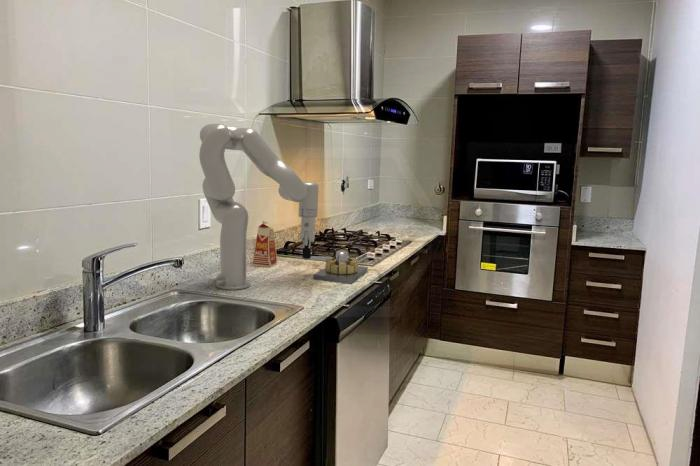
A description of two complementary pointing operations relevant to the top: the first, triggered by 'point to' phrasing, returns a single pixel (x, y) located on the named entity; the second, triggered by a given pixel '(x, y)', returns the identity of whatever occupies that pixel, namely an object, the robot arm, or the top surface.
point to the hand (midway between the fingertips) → (306, 257)
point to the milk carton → (265, 247)
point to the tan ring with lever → (340, 268)
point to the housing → (340, 278)
